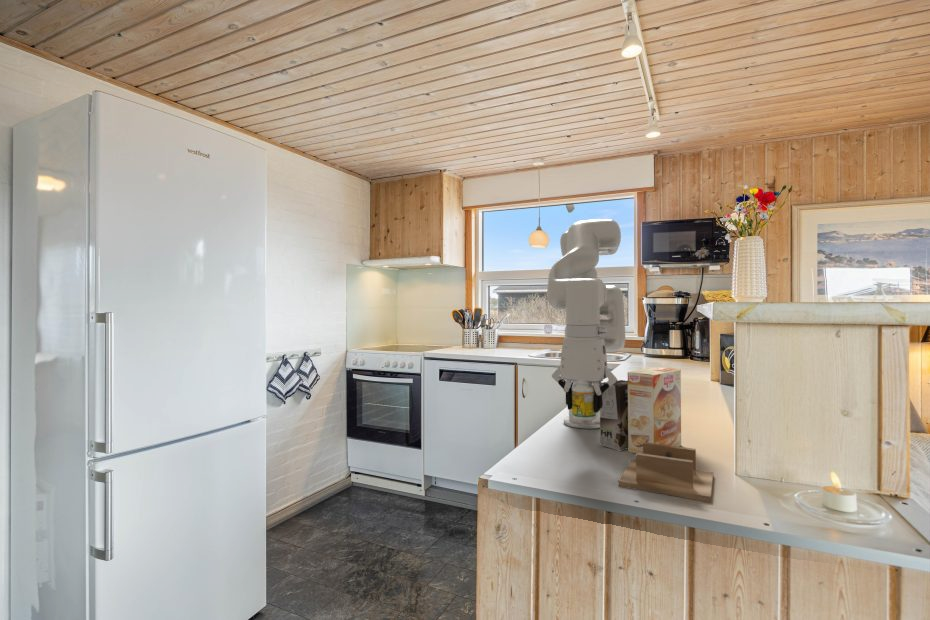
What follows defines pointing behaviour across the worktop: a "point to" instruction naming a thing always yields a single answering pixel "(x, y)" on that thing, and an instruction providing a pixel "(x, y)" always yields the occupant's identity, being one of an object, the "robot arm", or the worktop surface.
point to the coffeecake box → (654, 408)
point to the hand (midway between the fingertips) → (583, 408)
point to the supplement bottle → (583, 400)
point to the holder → (668, 473)
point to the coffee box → (614, 416)
